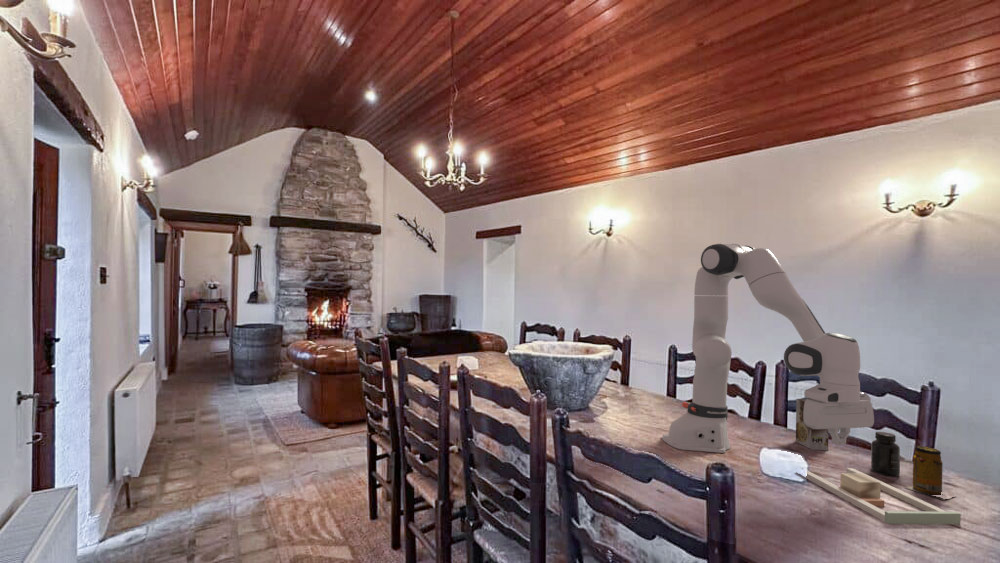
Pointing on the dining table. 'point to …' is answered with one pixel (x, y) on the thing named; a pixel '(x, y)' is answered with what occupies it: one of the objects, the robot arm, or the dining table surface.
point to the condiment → (927, 471)
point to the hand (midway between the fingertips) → (838, 443)
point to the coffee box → (809, 431)
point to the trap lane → (891, 517)
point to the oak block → (860, 485)
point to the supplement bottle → (885, 454)
